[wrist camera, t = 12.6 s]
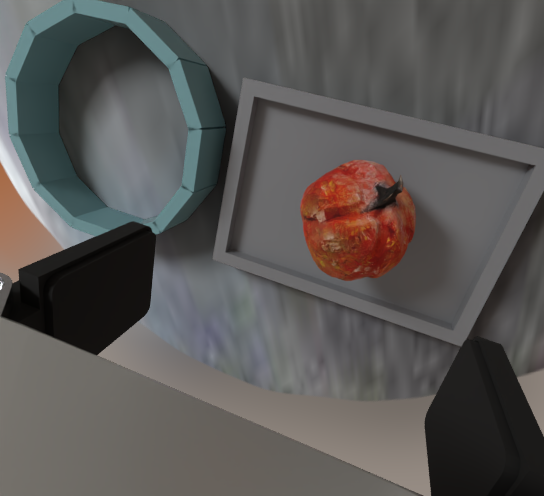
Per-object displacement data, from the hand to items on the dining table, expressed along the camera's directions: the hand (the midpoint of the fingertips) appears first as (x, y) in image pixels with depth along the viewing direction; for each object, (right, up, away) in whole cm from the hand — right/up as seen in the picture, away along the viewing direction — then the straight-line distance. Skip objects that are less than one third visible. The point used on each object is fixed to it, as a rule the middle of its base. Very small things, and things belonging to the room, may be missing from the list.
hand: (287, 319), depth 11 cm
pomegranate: (+6, +5, +16) cm, 18 cm away
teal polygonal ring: (-12, +12, +20) cm, 27 cm away
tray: (+6, +5, +17) cm, 19 cm away
